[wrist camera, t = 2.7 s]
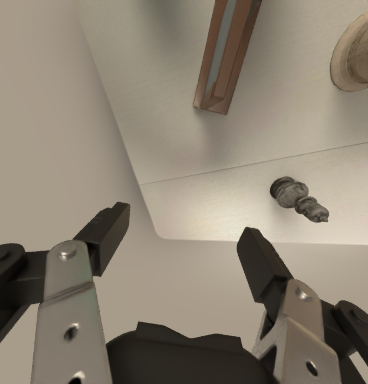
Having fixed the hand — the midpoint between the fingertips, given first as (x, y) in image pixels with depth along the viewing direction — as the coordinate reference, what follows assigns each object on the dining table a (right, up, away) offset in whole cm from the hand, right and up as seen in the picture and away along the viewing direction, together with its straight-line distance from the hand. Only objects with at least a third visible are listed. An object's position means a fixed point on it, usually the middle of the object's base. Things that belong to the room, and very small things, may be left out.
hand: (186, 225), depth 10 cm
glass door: (+4, +21, +13) cm, 25 cm away
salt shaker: (+21, +3, +23) cm, 32 cm away
